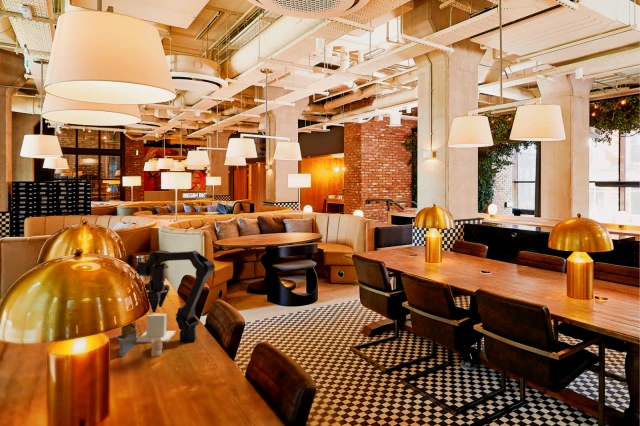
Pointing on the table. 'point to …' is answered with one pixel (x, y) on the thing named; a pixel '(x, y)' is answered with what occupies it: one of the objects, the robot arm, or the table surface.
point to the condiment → (127, 330)
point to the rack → (127, 343)
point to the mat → (163, 339)
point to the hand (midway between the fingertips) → (157, 309)
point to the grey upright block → (156, 325)
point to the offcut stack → (156, 347)
